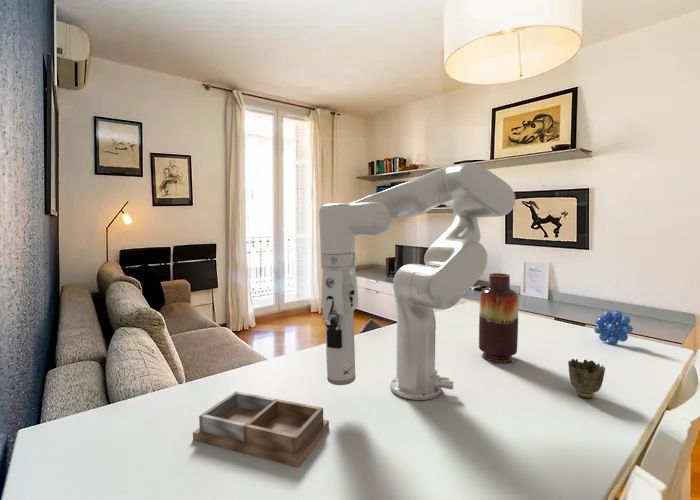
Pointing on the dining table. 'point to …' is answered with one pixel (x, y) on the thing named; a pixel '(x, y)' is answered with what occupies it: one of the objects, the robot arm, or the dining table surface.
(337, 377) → the travel mug
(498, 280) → the vase
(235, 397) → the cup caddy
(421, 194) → the robot arm
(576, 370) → the cup
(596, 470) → the dining table surface
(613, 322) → the grapes
